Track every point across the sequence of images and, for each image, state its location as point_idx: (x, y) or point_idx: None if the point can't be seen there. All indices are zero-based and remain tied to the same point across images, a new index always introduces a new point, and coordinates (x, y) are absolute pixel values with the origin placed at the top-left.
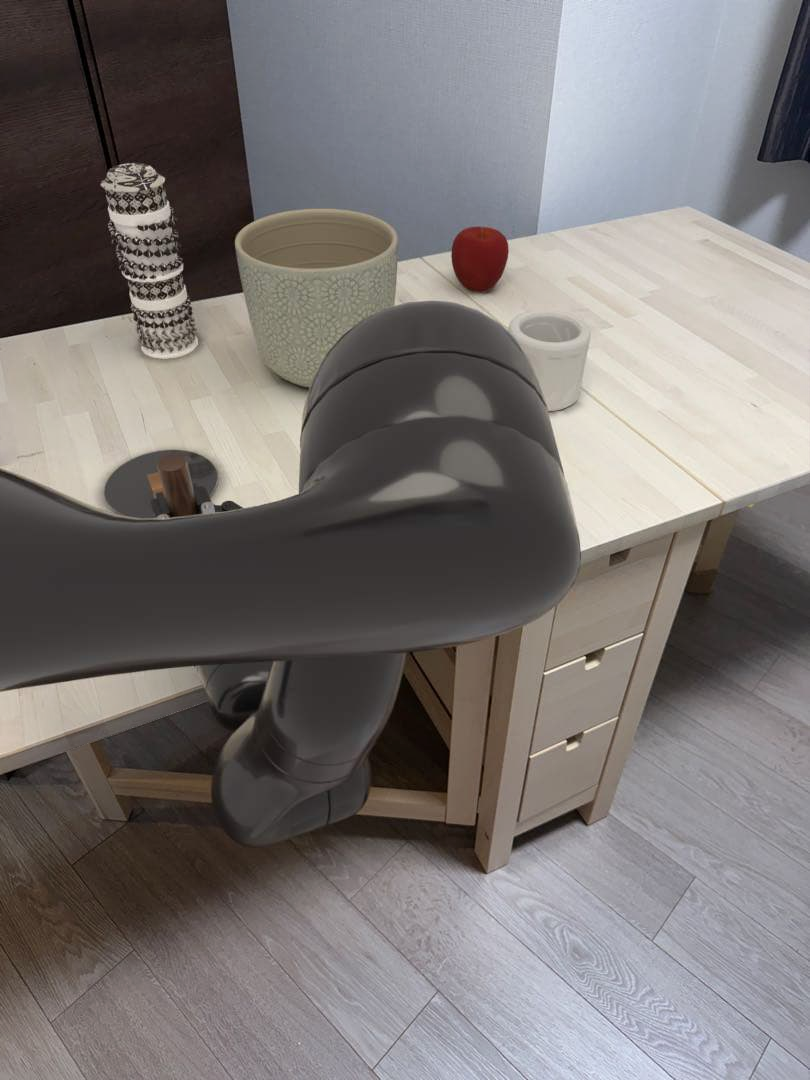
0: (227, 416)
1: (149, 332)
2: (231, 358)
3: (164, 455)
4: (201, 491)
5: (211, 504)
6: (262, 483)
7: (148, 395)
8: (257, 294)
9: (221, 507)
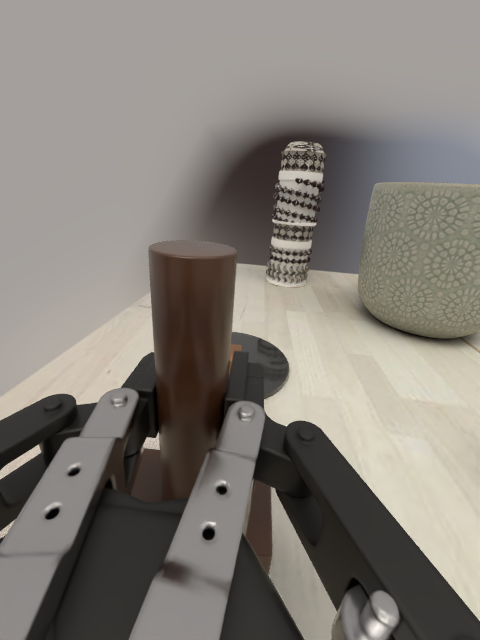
0: (314, 328)
1: (275, 265)
2: (327, 296)
3: (244, 337)
4: (252, 373)
5: (259, 414)
6: (340, 403)
7: (256, 299)
8: (387, 220)
9: (283, 433)
